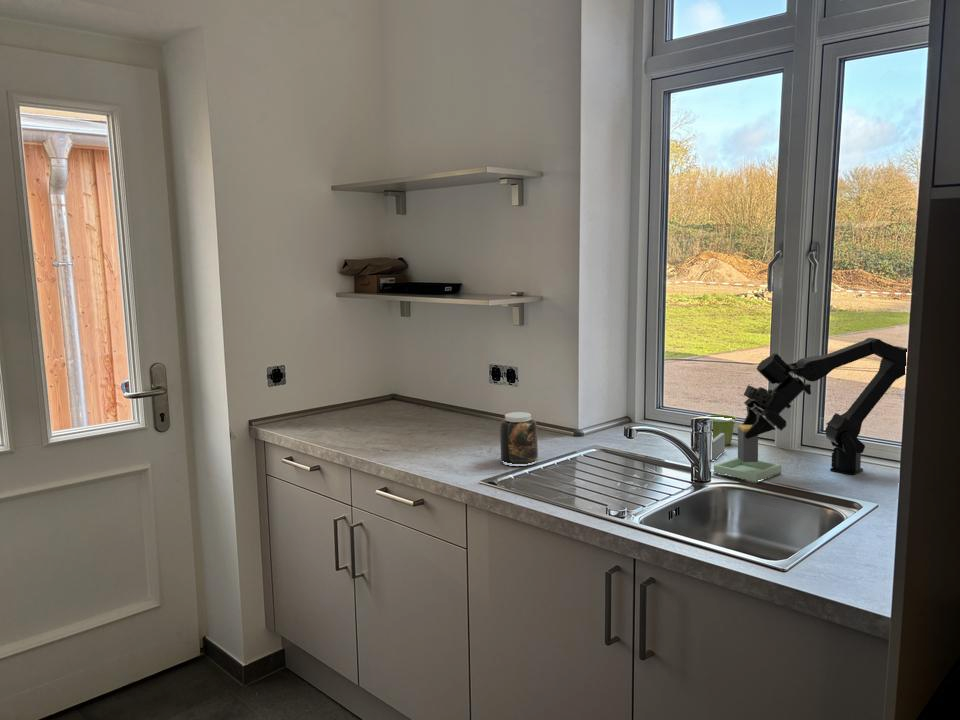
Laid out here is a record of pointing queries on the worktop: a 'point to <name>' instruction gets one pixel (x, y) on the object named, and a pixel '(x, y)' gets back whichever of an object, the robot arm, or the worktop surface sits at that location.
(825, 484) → the worktop surface
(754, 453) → the grey yellow-capped canister
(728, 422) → the plant pot
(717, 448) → the panel
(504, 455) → the jar
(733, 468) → the tray
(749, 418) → the robot arm
